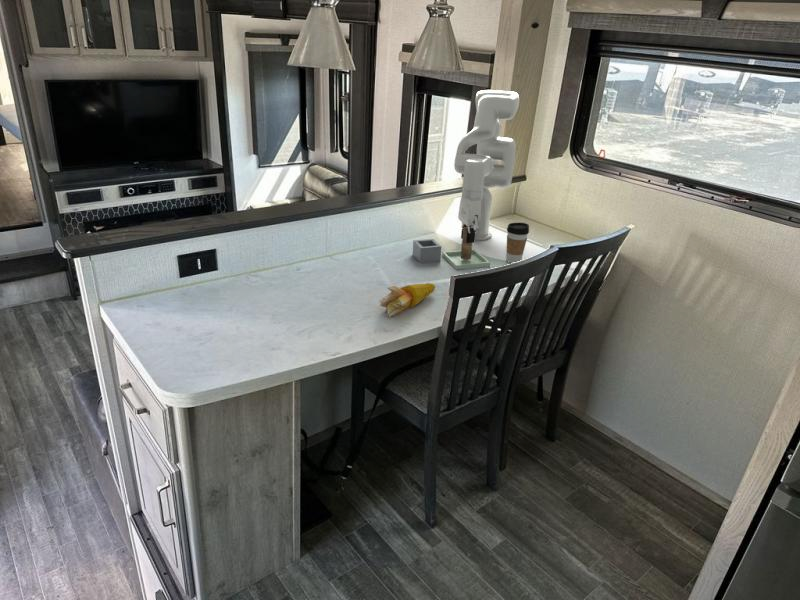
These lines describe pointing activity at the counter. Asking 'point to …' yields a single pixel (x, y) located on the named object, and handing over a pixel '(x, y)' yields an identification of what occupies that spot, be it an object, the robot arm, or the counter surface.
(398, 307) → the corn cob
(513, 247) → the coffee cup
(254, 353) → the counter surface
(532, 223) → the counter surface
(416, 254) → the square cup
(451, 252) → the sage tray
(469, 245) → the walnut dowel
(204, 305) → the counter surface
